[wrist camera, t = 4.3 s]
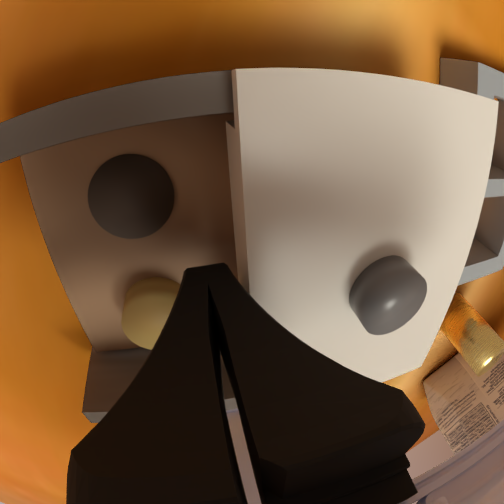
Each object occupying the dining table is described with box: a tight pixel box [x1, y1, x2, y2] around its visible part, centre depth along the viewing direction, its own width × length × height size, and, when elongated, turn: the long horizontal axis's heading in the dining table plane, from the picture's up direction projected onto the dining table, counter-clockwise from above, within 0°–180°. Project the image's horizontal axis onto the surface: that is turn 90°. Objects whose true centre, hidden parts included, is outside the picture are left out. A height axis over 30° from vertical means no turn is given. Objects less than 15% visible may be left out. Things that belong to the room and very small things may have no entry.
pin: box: [440, 293, 504, 376], centre depth 18 cm, size 3×3×6 cm
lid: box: [226, 68, 499, 383], centre depth 10 cm, size 13×9×3 cm
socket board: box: [440, 58, 504, 285], centre depth 13 cm, size 12×7×2 cm, turn 2°
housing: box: [0, 70, 238, 423], centre depth 11 cm, size 13×14×4 cm
